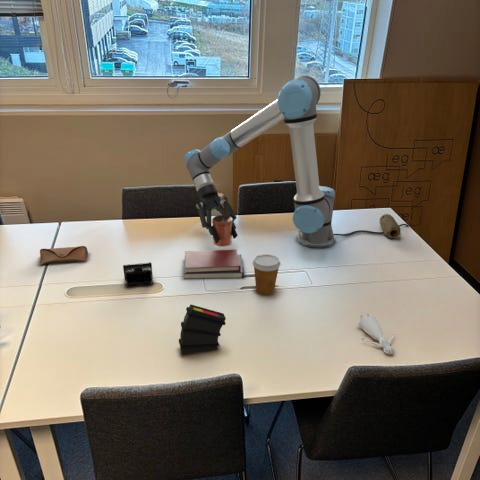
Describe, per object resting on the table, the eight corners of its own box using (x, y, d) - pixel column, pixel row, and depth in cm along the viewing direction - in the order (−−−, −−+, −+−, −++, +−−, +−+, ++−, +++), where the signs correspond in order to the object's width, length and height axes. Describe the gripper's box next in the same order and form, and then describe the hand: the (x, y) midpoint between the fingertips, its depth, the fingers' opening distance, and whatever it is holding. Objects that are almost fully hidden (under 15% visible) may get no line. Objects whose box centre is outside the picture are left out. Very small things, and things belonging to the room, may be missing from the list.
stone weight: (375, 226, 228) (377, 212, 225) (390, 226, 229) (392, 212, 225) (386, 240, 216) (389, 225, 212) (402, 240, 216) (405, 225, 213)
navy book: (241, 260, 198) (241, 254, 197) (243, 278, 186) (243, 272, 184) (185, 261, 197) (184, 255, 195) (183, 279, 184) (183, 273, 183)
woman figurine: (382, 309, 160) (411, 344, 146) (379, 320, 162) (407, 356, 148) (348, 313, 157) (374, 349, 143) (346, 324, 160) (371, 361, 146)
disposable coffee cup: (278, 284, 181) (280, 254, 175) (278, 298, 174) (280, 267, 167) (252, 283, 182) (253, 253, 176) (250, 296, 174) (251, 265, 168)
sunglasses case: (38, 265, 190) (36, 247, 190) (41, 266, 197) (39, 249, 197) (87, 261, 194) (85, 243, 194) (89, 262, 201) (87, 246, 201)
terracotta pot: (231, 238, 206) (231, 214, 201) (232, 246, 199) (232, 222, 194) (212, 238, 206) (211, 214, 200) (212, 246, 199) (212, 222, 193)
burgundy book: (236, 254, 196) (236, 249, 195) (240, 271, 185) (240, 265, 184) (185, 256, 194) (184, 251, 193) (185, 273, 183) (185, 268, 182)
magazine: (168, 345, 146) (188, 303, 141) (208, 355, 152) (229, 314, 147) (170, 353, 143) (191, 310, 138) (211, 362, 149) (232, 321, 143)
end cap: (152, 275, 186) (150, 259, 182) (154, 285, 180) (152, 268, 176) (124, 278, 184) (122, 262, 180) (125, 288, 178) (123, 271, 174)
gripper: (224, 188, 209) (244, 237, 207) (180, 196, 200) (201, 248, 197) (230, 179, 203) (252, 230, 200) (185, 187, 193) (207, 241, 191)
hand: (226, 239), depth 199 cm, fingers closed on terracotta pot, 8 cm apart
